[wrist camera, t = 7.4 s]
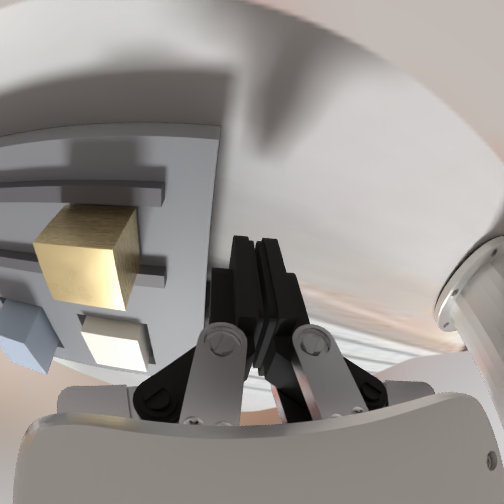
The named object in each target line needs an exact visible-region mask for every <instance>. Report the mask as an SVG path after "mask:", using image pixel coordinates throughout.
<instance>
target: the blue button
mask: <svg viewBox="0 0 504 504" xmlns="http://www.w3.org/2000/svg"><path fill="white" fill-rule="evenodd" d="M59 340H60V339H59V337H58V336H57V334H56V332H55V330H54V328H53V327H52V325H51V323H50V321H49V319H48V317H47V315H46V313H45V311H44V309H43V307H40V306H36V305H32V304H27V303H23V302H19V301H15V300H11V299H6V300H5V302H4V304H3V306H2V307H1V309H0V347H1V349H2V350H3V351H4V353H5V354H6V355H7V357H8V358H9V359H10V360H11V361H12V362H13V363H16V364H18V365H21V366H24V367H27V368H30V369H32V370H35V371H39V372H41V373H44V374H47V373H48V370H49V367H50V364H51V361H52V359H53V356H54V353H55V351H56V348H57V345H58V343H59Z"/></svg>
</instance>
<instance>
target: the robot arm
mask: <svg viewBox="0 0 504 504" xmlns="http://www.w3.org/2000/svg"><path fill="white" fill-rule="evenodd" d="M434 319H435V321H436V323H437V325H438V327H439V328H440V329H441V330H443V331H447V332H451V331H456V330H457V331H458V333H459V334H460V336H461V338H462V340H463V341H464V343H465V345H466V347H467V349H468V351H469V352H470V354H471V356H472V358H473V360H474V362H475V364H476V366H477V368H478V370H479V372H480V374H481V376H482V378H483V380H484V383H485V384H486V387H487V389H488V391H489V394H490V396H491V398H492V401H493V403H494V405H495V408H496V410H497V413H498V415H499V418H500V421H501V423H502V426H503V429H504V236H500V237H497V238H494V239H491V240H490V241H488V242H487V243H485V244H483V245H482V246H481V247H480V248H478V249H477V250H476V251H475V252H474V253H473V254H472V255H470V256H469V257H468V258H467V259H466V260H465V262H464V263H463V264H462V265H461V266H460V267H459V268H458V269H457V271H456V272H455V273H454V275H453V276H452V277H451V279H450V280H449V282H448V283H447V285H446V286H445V287H444V289H443V291H442V293H441V295H440V297H439V299H438V302H437V304H436V307H435V312H434ZM252 363H253V368H258V373H259V376H265V379H266V380H267V381H268V382H270V383H271V390H272V394H273V397H274V400H275V403H276V406H277V409H278V413H279V416H280V419H281V422H282V424H275V425H256V426H239V423H240V414H241V404H242V394H243V384H244V381H245V380H247V378H248V374H249V371H250V368H251V365H252ZM13 504H504V468H503V464H502V460H501V456H500V452H499V448H498V445H497V441H496V438H495V436H494V432H493V430H492V427H491V424H490V422H489V419H488V417H487V415H486V413H485V411H484V409H483V407H482V405H481V404H480V403H479V402H478V400H477V399H475V398H474V397H472V396H470V395H467V394H463V393H454V392H445V393H438V394H435V392H434V390H433V388H432V387H431V386H430V385H429V384H427V383H425V382H411V381H387V380H386V381H385V382H384V383H382V382H381V381H380V380H378V379H377V378H376V377H374V376H373V375H371V374H369V373H368V372H366V371H365V370H363V369H362V368H360V367H358V366H357V365H355V364H354V363H352V362H351V361H349V360H348V359H346V358H345V357H343V356H342V354H341V352H340V350H339V348H338V346H337V344H336V342H335V340H334V338H333V336H332V335H331V334H330V333H329V332H328V331H327V330H326V329H324V328H322V327H320V326H318V325H314V324H310V322H309V318H308V315H307V311H306V308H305V305H304V301H303V298H302V294H301V291H300V288H299V284H298V281H297V278H296V275H295V274H294V273H286V269H285V266H284V262H283V258H282V255H281V251H280V247H279V244H278V240H277V239H270V238H262V241H257V243H256V247H255V248H254V242H253V241H250V240H249V238H248V237H247V236H235V235H234V237H233V243H232V250H231V257H230V264H229V269H224V268H212V273H211V286H210V304H209V325H208V326H206V327H205V328H204V329H203V330H202V331H201V332H200V335H199V337H198V341H197V345H196V346H195V347H193V348H192V349H190V350H189V351H187V352H186V353H185V354H183V355H182V356H180V357H179V358H177V359H176V360H175V361H173V362H172V363H170V364H169V365H167V366H166V367H164V368H163V369H161V370H160V371H159V372H157V373H156V374H154V375H153V376H151V377H150V378H148V379H147V380H145V381H144V382H142V383H141V384H140V385H139V386H134V387H127V385H107V386H71V387H67V388H66V389H64V390H62V392H61V393H60V395H59V396H58V401H57V414H53V415H48V416H45V417H42V418H39V419H37V420H35V421H34V422H33V423H32V424H31V425H30V426H29V427H28V429H27V431H26V433H25V435H24V437H23V440H22V442H21V446H20V449H19V453H18V458H17V463H16V470H15V479H14V488H13Z"/></svg>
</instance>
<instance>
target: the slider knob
mask: <svg viewBox="0 0 504 504" xmlns="http://www.w3.org/2000/svg"><path fill="white" fill-rule="evenodd" d="M33 246H34V249H35V252H36V255H37V258H38V261H39V264H40V266H41V269H42V272H43V275H44V277H45V280H46V282H47V285H48V287H49V290H50V292H51V295H52V297H53V299H54V300H59V301H65V302H70V303H76V304H82V305H89V306H95V307H102V308H109V309H116V310H124V311H125V310H126V307H127V303H128V300H129V297H130V294H131V291H132V288H133V285H134V282H135V279H136V276H137V274H138V271H139V268H140V265H141V260H140V250H139V240H138V229H137V215H136V208H134V207H115V206H92V205H65V206H64V207H63V208H62V209H61V210H60V211H59V212H58V213H57V215H56V216H55V217H54V218H53V219H52V220H51V221H50V222H49V224H48V225H47V226H46V227H45V228H44V229H43V231H42V232H41V233H40V234H39V235H38V237H37V238H36V239H35V240H34V241H33Z"/></svg>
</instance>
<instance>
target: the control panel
mask: <svg viewBox="0 0 504 504" xmlns="http://www.w3.org/2000/svg"><path fill="white" fill-rule="evenodd" d="M220 131H221V126H213V125H200V124H184V123H153V122H132V123H102V124H86V125H75V126H65V127H56V128H48V129H41V130H34V131H28V132H22V133H17V134H12V135H7V136H2V137H0V309H1V307H2V306H3V304H4V302H5V300H6V299H11V300H15V301H19V302H23V303H27V304H32V305H36V306H40V307H43V309H44V311H45V313H46V315H47V317H48V319H49V321H50V323H51V325H52V327H53V328H54V330H55V332H56V334H57V336H58V337H59V339H60V340H59V343H58V345H57V348H56V351H55V353H54V357H58V358H62V359H66V360H70V361H74V362H78V363H82V364H87V365H91V366H96V367H101V368H106V369H112V370H117V371H123V372H129V373H136V374H143V375H150V376H153V375H154V374H156V373H157V372H159V371H160V370H161V369H163V368H164V367H166V366H167V365H169V364H170V363H172V362H173V361H175V360H176V359H177V358H179V357H180V356H182V355H183V354H185V353H186V352H187V351H189V350H190V349H192V348H193V347H195V346H196V345H197V341H198V337H199V335H200V332H201V331H202V330H203V329H204V314H205V295H206V278H207V263H208V250H209V237H210V225H211V214H212V203H213V193H214V183H215V173H216V164H217V156H218V147H219V139H220ZM65 205H92V206H115V207H134V208H136V215H137V229H138V240H139V250H140V260H141V265H140V268H139V271H138V274H137V276H136V279H135V282H134V285H133V288H132V291H131V294H130V297H129V300H128V303H127V307H126V310H125V311H124V310H116V309H109V308H102V307H95V306H89V305H82V304H76V303H70V302H65V301H59V300H54V299H53V297H52V295H51V292H50V290H49V287H48V285H47V282H46V280H45V277H44V275H43V272H42V269H41V266H40V264H39V261H38V258H37V255H36V252H35V249H34V246H33V241H34V240H35V239H36V238H37V237H38V235H39V234H40V233H41V232H42V231H43V229H44V228H45V227H46V226H47V225H48V224H49V222H50V221H51V220H52V219H53V218H54V217H55V216H56V215H57V213H58V212H59V211H60V210H61V209H62V208H63V207H64V206H65ZM86 316H93V317H99V318H106V319H113V320H120V321H127V322H135V323H143V324H147V326H148V331H149V336H150V340H151V350H150V356H149V362H148V368H147V372H144V371H137V370H130V369H124V368H118V367H112V366H107V365H101V364H97V363H96V361H95V359H94V357H93V355H92V354H91V352H90V350H89V348H88V346H87V344H86V342H85V340H84V338H83V336H82V334H81V329H82V326H83V324H84V321H85V318H86Z"/></svg>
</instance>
